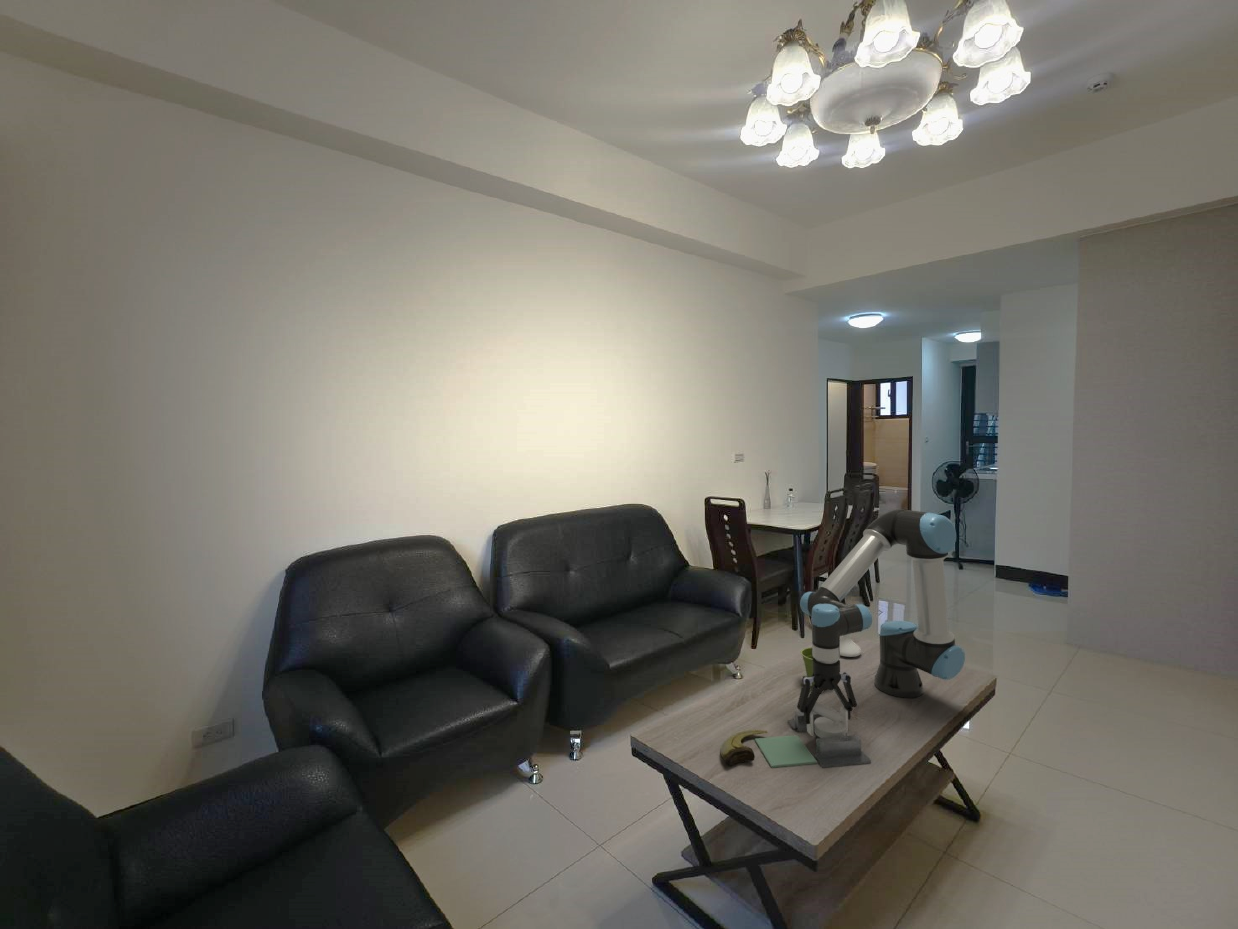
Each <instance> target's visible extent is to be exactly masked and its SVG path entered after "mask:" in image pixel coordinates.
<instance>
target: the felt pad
mask: <svg viewBox="0 0 1238 929" xmlns="http://www.w3.org/2000/svg"><path fill="white" fill-rule="evenodd" d="M754 741H755V743H756V745H757V747H758V748H759V750H760V751H761V753H762V755H763V756H764V758H765V760H766V761H767V763H768V764H769V766H770V768H772V769H773V768H783V767H785V768H786V767H795V766H805V765H815V764H818V762H817V760H816V759H815V756H814V755H813V754H812V753H811V752H810V750H809V749H808V748H807V746H806V745H805V743H803V740H801V738H800V737H799V736H798V734H794V735H781V736H779V735H778V736H772V737H771V736H769V737H760V738H759V737H758V738H757V737H756V738H754Z"/></svg>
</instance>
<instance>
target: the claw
mask: <svg viewBox="0 0 1238 929" xmlns="http://www.w3.org/2000/svg"><path fill="white" fill-rule="evenodd" d="M767 733H768V730H761V729H759V730H758V729H755V730H754V729H753V730H750V729H749V730H742V731H739V732H736V733H735V734H732V735H731V736H729V737H728V738H727V739H726V740H724V742H723V743H722V744H721V747H720V755H721V757H722V759H723V760H724V762H725V764H727V766H733V765H735V764H738V763H742V762H748V761H751V762H753V761H755V757H756V756H755V752H754V750H753V748H751V747H749V746H746V745H743V743H742V740H743V739H744V738H746V737H750V736H755V735H762V734H767Z"/></svg>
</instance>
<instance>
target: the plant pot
mask: <svg viewBox="0 0 1238 929" xmlns="http://www.w3.org/2000/svg"><path fill="white" fill-rule="evenodd" d="M800 654H801V656H802V660H803V662H804V667H805V673H806V678H808V677H812V675H813V655H812V647H811V646H810V647H806V648H803V649H801V651H800ZM813 685H814V681H813V682H812V685H811V686H810V687H813Z"/></svg>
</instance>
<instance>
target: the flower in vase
mask: <svg viewBox="0 0 1238 929" xmlns="http://www.w3.org/2000/svg"><path fill="white" fill-rule="evenodd" d="M841 637H842V638H840V657H847V658H853V657H858V656H860V655H861V654H862V653H863V652H862V649H861V647H860V646H859V645H858V644H857V643H855V642H854V641H853V640H852V638H850V634H847V635H843V636H841Z"/></svg>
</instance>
